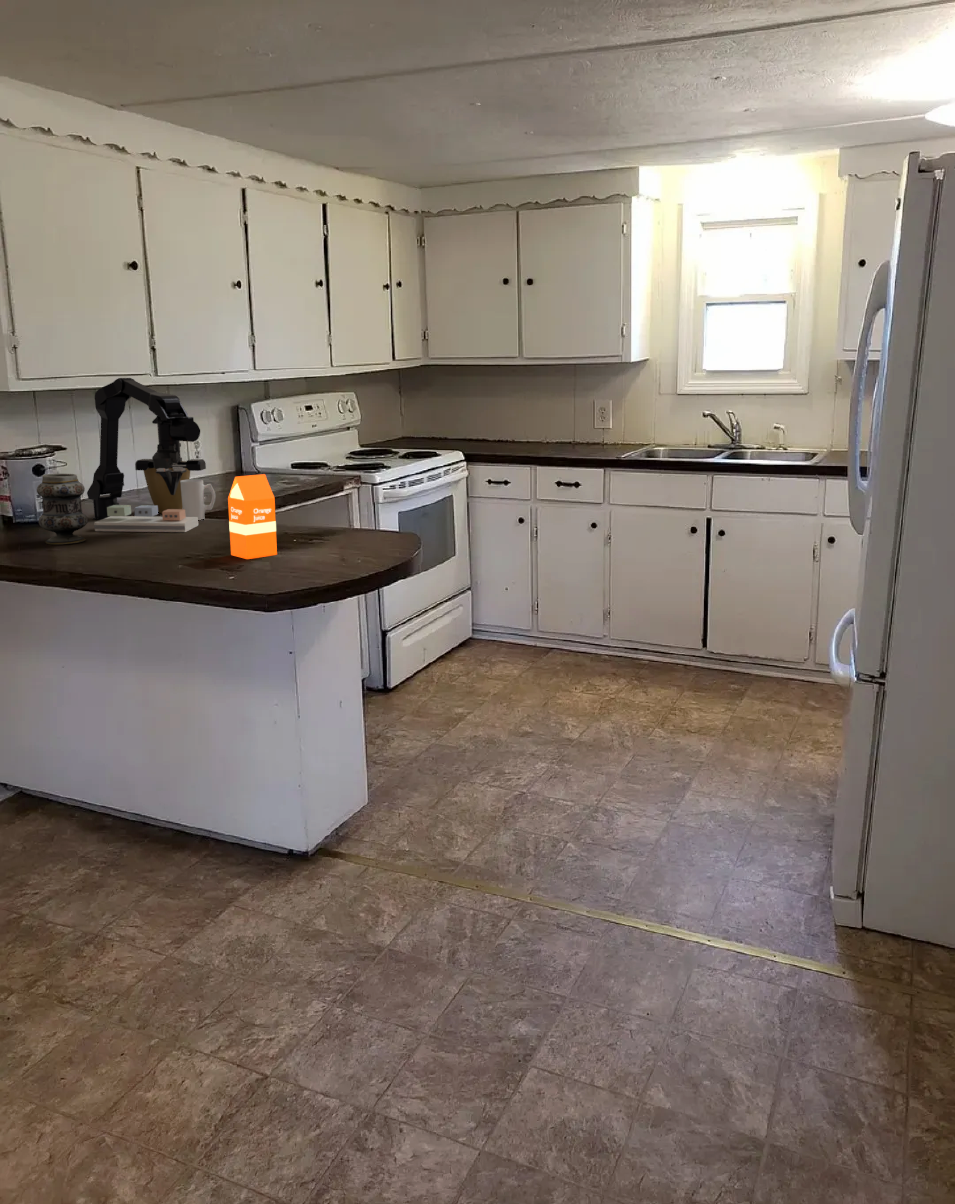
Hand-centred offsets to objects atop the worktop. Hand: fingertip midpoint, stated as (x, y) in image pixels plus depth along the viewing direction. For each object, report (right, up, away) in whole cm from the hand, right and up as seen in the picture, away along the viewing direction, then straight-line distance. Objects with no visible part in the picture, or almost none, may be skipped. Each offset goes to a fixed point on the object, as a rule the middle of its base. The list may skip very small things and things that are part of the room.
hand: (172, 494), depth 283 cm
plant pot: (-11, -2, +33) cm, 35 cm away
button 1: (-16, -6, +2) cm, 17 cm away
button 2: (-8, -6, +2) cm, 10 cm away
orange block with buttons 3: (0, -7, +2) cm, 7 cm away
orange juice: (+32, -19, -35) cm, 51 cm away
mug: (+2, -6, +19) cm, 20 cm away
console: (-8, -9, +3) cm, 13 cm away
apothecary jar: (-23, -15, -19) cm, 33 cm away
